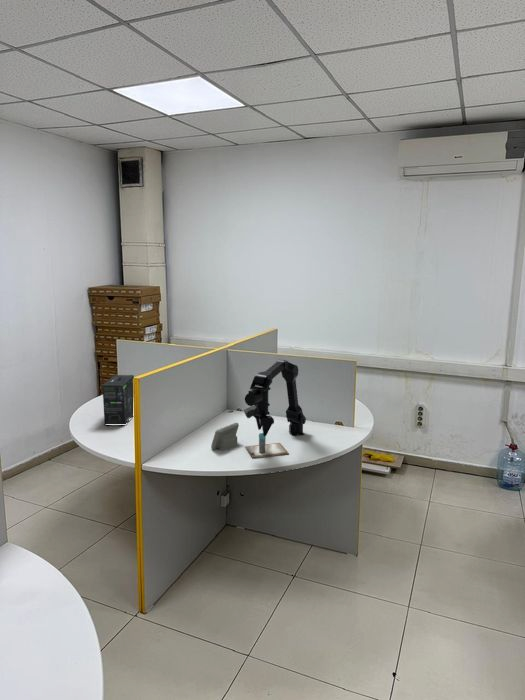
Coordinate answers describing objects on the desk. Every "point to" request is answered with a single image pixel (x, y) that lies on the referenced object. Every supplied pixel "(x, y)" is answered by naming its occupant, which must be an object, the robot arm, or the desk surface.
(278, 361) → the robot arm
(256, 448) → the clipboard
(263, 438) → the glue stick
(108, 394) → the headset box
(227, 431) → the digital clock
